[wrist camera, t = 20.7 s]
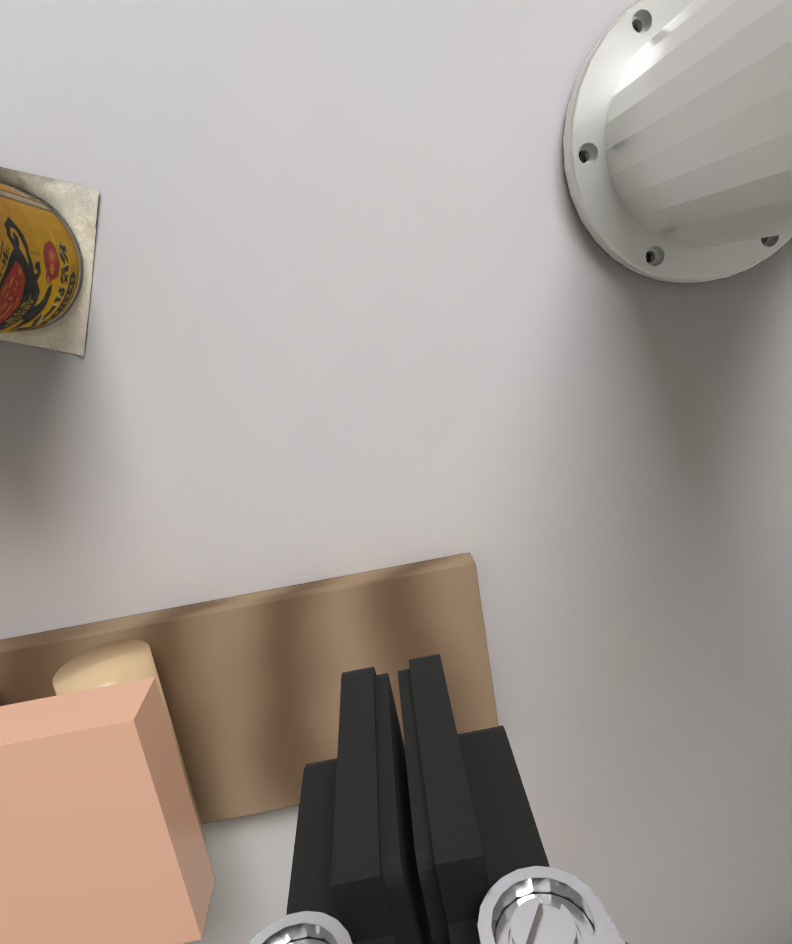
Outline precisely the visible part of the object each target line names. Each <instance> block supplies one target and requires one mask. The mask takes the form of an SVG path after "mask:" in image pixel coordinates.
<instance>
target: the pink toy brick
mask: <svg viewBox="0 0 792 944" xmlns="http://www.w3.org/2000/svg"><path fill="white" fill-rule="evenodd" d="M52 682H53V686H54V689H55V692H56V695H57V696H52V697H46V698H41V699H36V700H31V701H25V702H20V703H15V704H10V705H4V706H0V944H183V943H187V942H192V941H197V940H202V937H203V932H204V928H205V923H206V918H207V914H208V909H209V905H210V900H211V895H212V891H213V886H214V882H215V878H214V874H213V871H212V867H211V864H210V861H209V857H208V854H207V851H206V847H205V845H206V837H205V833H204V830H203V826H202V823H201V820H200V816H199V813H198V809H197V806H196V803H195V799H194V796H193V792H192V789H191V786H190V782H189V779H188V775H187V772H186V769H185V765H184V762H183V758H182V755H181V752H180V748H179V745H178V741H177V738H176V734H175V731H174V728H173V724H172V721H171V717H170V714H169V711H168V707H167V704H166V700H165V697H164V694H163V690H162V687H161V683H160V680H159V677H158V673H157V670H156V666H155V663H154V660H153V656H152V653H151V649H150V646H149V645H148V644H147V643H146V642H144V641H141V640H121V641H115V642H111V643H107V644H104V645H101V646H98V647H95V648H93V649H91V650H88V651H86V652H84V653H82V654H80V655H78V656H77V657H75V658H73V659H72V660H70V661H69V662H67V663H66V664H65V665H64V666H62V667H61V668H60V669H59V670H58V671H57V673H56V674H55V676H54V678H53V681H52Z"/></svg>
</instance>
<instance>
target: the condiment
mask: <svg viewBox="0 0 792 944" xmlns="http://www.w3.org/2000/svg"><path fill="white" fill-rule="evenodd" d="M98 196H99V189H96V188H91V187H87V186H82V185H78V184H73V183H69V182H64V181H60V180H55V179H51V178H46V177H42V176H38V175H33V174H29V173H25V172H20V171H16V170H11V169H7V168H3V167H0V340H4V341H9V342H14V343H20V344H25V345H30V346H35V347H41V348H46V349H50V350H56V351H61V352H66V353H71V354H76V355H80V356H84V350H85V339H86V330H87V319H88V313H89V303H90V292H91V283H92V269H93V258H94V247H95V234H96V227H95V226H96V218H97V206H98Z"/></svg>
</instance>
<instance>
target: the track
mask: <svg viewBox="0 0 792 944" xmlns="http://www.w3.org/2000/svg"><path fill="white" fill-rule="evenodd" d="M121 640H141V641H144V642H146V643H147V644H148V645H149V646H150V649H151V653H152V656H153V660H154V663H155V666H156V670H157V673H158V677H159V680H160V683H161V687H162V690H163V694H164V697H165V700H166V704H167V707H168V711H169V714H170V717H171V721H172V724H173V728H174V731H175V734H176V738H177V741H178V745H179V748H180V752H181V755H182V758H183V762H184V765H185V769H186V772H187V775H188V779H189V782H190V786H191V789H192V792H193V796H194V799H195V803H196V806H197V809H198V813H199V816H200V820H201V823H202V824H206V823H211V822H216V821H221V820H226V819H231V818H236V817H241V816H246V815H251V814H256V813H261V812H266V811H271V810H276V809H281V808H286V807H291V806H296V805H299V804H300V795H301V787H302V778H303V772H304V767H305V766H306V764H309V763H314V762H319V761H325V760H330V759H335V758H337V753H338V733H339V712H340V692H341V675H342V673H343V672H348V671H353V670H358V669H363V668H368V667H374V668H375V671H376V674H377V675H379V674H384V673H388V675H389V679H390V683H391V687H392V692H393V696H394V701H395V705H396V710H397V714H398V719H399V723H400V728H401V732H402V737H403V741H404V733H403V723H402V713H401V702H400V692H399V681H398V671H399V670H404V669H409V659H414V658H419V657H424V656H429V655H435V654H440V656H441V661H442V666H443V670H444V675H445V679H446V684H447V689H448V693H449V698H450V702H451V707H452V712H453V716H454V721H455V726H456V730H457V734H462V733H467V732H472V731H477V730H482V729H487V728H492V727H497V726H498V720H497V713H496V706H495V699H494V692H493V684H492V677H491V670H490V663H489V656H488V649H487V642H486V635H485V628H484V621H483V614H482V606H481V599H480V592H479V585H478V578H477V571H476V564H475V562H474V560H473V558H472V556H471V554H470V553H465V554H459V555H454V556H448V557H443V558H438V559H432V560H427V561H422V562H416V563H411V564H406V565H400V566H395V567H389V568H384V569H379V570H373V571H368V572H363V573H357V574H352V575H347V576H341V577H336V578H331V579H325V580H320V581H314V582H309V583H304V584H298V585H293V586H288V587H282V588H277V589H272V590H266V591H261V592H255V593H250V594H245V595H239V596H234V597H229V598H223V599H218V600H213V601H207V602H202V603H196V604H191V605H186V606H180V607H175V608H170V609H164V610H159V611H154V612H148V613H143V614H137V615H132V616H127V617H121V618H116V619H111V620H105V621H100V622H95V623H89V624H84V625H78V626H73V627H68V628H62V629H57V630H52V631H46V632H41V633H36V634H30V635H25V636H19V637H14V638H9V639H3V640H0V706H4V705H10V704H15V703H20V702H25V701H31V700H36V699H41V698H46V697H52V696H57V695H56V692H55V689H54V686H53V682H52V681H53V678H54V676H55V674H56V673H57V671H58V670H59V669H60V668H61V667H62V666H64V665H65V664H66V663H67V662H69V661H70V660H72V659H73V658H75V657H77V656H78V655H80V654H82V653H84V652H86V651H88V650H91V649H93V648H95V647H98V646H101V645H104V644H107V643H111V642H115V641H121ZM404 746H405V744H404Z"/></svg>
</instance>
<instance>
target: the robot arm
mask: <svg viewBox="0 0 792 944" xmlns="http://www.w3.org/2000/svg"><path fill="white" fill-rule="evenodd" d="M632 24H634V25H636V26H637V29H638V32H637V31H636V30H634V29H633V25H632ZM563 147H564V169H565V173H566V178H567V182H568V187H569V191H570V195H571V198H572V200H573V203H574V205H575V207H576V210H577V212H578V214H579V217H580V219H581V221H582V222H583V224H584V225H585V227H586V228H587V230H588V231H589V233H590V234H591V236H592V237H593V239H594V240H595V242H596V243H598V244H599V245H600V246H601V247H602V248H603V249H604V250H605V251H606V252H607V253H608V254H609V255H610V256H611V257H612V258H613V259H614V260H616V261H617V262H619V263H621V264H622V265H624V266H625V267H627V268H628V269H630V270H632V271H633V272H636V273H638V274H641V275H644V276H647V277H649V278H652V279H655V280H660V281H667V282H675V283H694V282H705V281H711V280H717V279H723V278H727V277H729V276H732V275H734V274H737V273H740V272H742V271H745V270H748V269H750V268H751V267H753V266H755V265H756V264H758V263H760V262H761V261H763V260H765V259H766V258H768V257H769V256H771V255H772V254H774V253H775V252H776V251H777V250H778V249H779V248H780V247H782V246H783V245H784V244H785V243H786V242H787V241H788V240H790V239H791V238H792V0H637V1H636V2H635V3H634V4H632V5H631V6H630V7H628V8H627V9H626V10H625V11H624V12H623V13H622V14H621V15H620V16H619V17H618V18H617V19H616V20H615V21H614V22H613V23H612V24H611V25H610V26H609V27H608V28H607V30H606V31H605V32H604V34H603V35H602V36H601V38H600V39H599V41H598V42H597V43H596V45H595V46H594V47H593V49H592V50H591V52H590V53H589V55H588V57H587V59H586V61H585V63H584V65H583V67H582V69H581V71H580V73H579V75H578V77H577V79H576V81H575V84H574V88H573V91H572V94H571V98H570V101H569V104H568V108H567V113H566V120H565V128H564V136H563ZM579 152H582V153H584V154H585V156H586V160H585V162H584V163H582V162H581V161H580V159H579V156H578V154H579ZM761 238H762V240H761ZM647 252H648V253H649V254H650V256H651V258H650V261H649V262H648V263H647V260H646V253H647ZM398 681H399V692H400V702H401V713H402V723H403V733H404V741H403V737H402V732H401V728H400V723H399V719H398V714H397V710H396V705H395V701H394V696H393V692H392V687H391V683H390V679H389V675H388V673H384V674H379V675H377V674H376V671H375V668H374V667H368V668H363V669H358V670H353V671H348V672H343V673H342V675H341V692H340V712H339V733H338V753H337V758H335V759H330V760H325V761H319V762H314V763H309V764H306V766H305V767H304V772H303V778H302V787H301V795H300V804H299V812H298V821H297V829H296V838H295V846H294V855H293V863H292V871H291V880H290V888H289V897H288V905H287V914H286V916H284V917H282V918H280V919H278V920H276V921H274V922H272V923H270V924H269V925H267V926H266V927H265V928H264V929H263V930H261V931H260V932H259V933H258V934H257V935H255V936H254V937H253V938H252V940H251V941H250V942H249V943H248V944H627V943H625V942H624V940H623V939H622V937H621V935H620V933H619V932H618V930H617V928H616V926H615V925H614V923H613V921H612V919H611V918H610V916H609V914H608V912H607V911H606V909H605V907H604V905H603V904H602V902H601V901H600V899H599V898H598V897H597V895H596V894H595V893H594V892H593V890H592V889H591V888H590V887H589V886H588V885H587V884H586V883H584V882H583V881H581V880H580V879H579V878H577V877H576V876H575V875H573V874H571V873H568V872H565V871H563V870H560V869H557V868H554V867H550V866H549V863H548V860H547V857H546V854H545V851H544V848H543V845H542V842H541V839H540V836H539V833H538V830H537V827H536V823H535V820H534V817H533V814H532V811H531V808H530V805H529V802H528V799H527V796H526V793H525V790H524V787H523V784H522V781H521V778H520V775H519V771H518V768H517V765H516V762H515V759H514V756H513V753H512V750H511V747H510V744H509V741H508V738H507V735H506V732H505V729H504V727H503V726H497V727H492V728H487V729H482V730H477V731H472V732H467V733H462V734H457V730H456V726H455V721H454V716H453V712H452V707H451V702H450V698H449V693H448V689H447V684H446V679H445V675H444V670H443V666H442V661H441V656H440V654H435V655H429V656H424V657H419V658H414V659H409V669H404V670H399V671H398ZM404 744H405V746H404Z"/></svg>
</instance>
